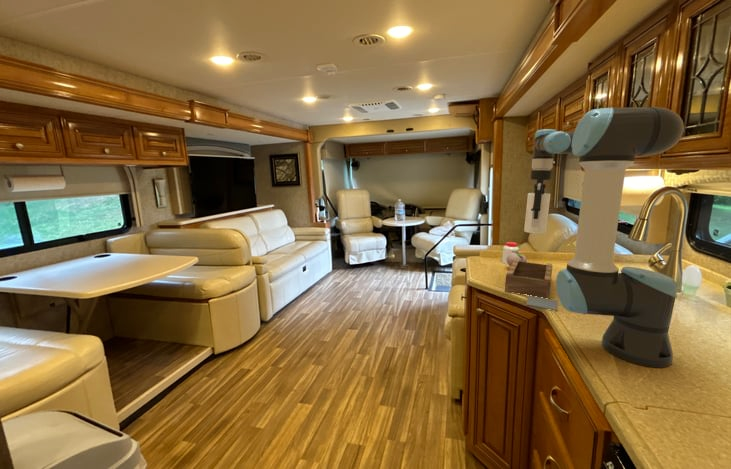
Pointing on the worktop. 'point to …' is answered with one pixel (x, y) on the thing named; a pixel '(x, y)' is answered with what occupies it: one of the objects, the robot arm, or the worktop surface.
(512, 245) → the pill bottle
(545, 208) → the cup
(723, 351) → the worktop surface
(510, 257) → the decorative fruit
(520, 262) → the crate
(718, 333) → the worktop surface
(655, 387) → the worktop surface
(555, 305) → the panel
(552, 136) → the robot arm
